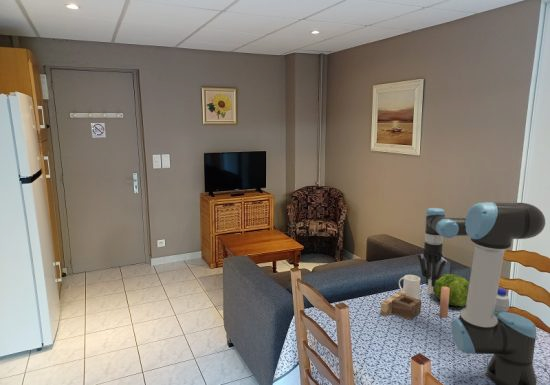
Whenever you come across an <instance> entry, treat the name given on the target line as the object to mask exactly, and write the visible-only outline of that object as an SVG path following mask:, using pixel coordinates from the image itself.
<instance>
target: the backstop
mask: <svg viewBox="0 0 550 385" xmlns="http://www.w3.org/2000/svg"><path fill="white" fill-rule="evenodd" d="M400 295H405V296H406V292H403V291H402V290H400V291H398V292H396V293H395V294H393V295H392V296H390V297H388V298H386V299H385V300H383V301H382V302H381V303H380V315H381V316H384V317H388V316H389V315H390V314H391V315H392V313H391V311H392V300H394V299H395V298H397V297H398V296H400Z"/></svg>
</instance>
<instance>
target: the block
mask: <svg viewBox="0 0 550 385" xmlns="http://www.w3.org/2000/svg"><path fill="white" fill-rule="evenodd" d="M421 310H422V300H421V299H419V300H418V299H415V298H412V297H409V296H405V295H400V296H398V297H397V298H395V299H394V300H392V311H391V315H392V314H393V315H395V316H397V317H398V316H399V317H401V318H405V319H407V320H409V321H412V320H413V319H415V318H416V317H417V316H419V315H420V314H421Z"/></svg>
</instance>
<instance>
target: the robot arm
mask: <svg viewBox="0 0 550 385" xmlns="http://www.w3.org/2000/svg"><path fill="white" fill-rule="evenodd" d="M545 227H546V217H545V215H544V213H543V212H542V211H541V210H540V208H538V207H537V206H535V205H533V204H531V203H527V202H496V201H495V202H492V201H487V202H478V203H475V204H474V205H472V206H471V207H469V210H468V211H467V213H466V217H446V211H445V210H444V209H443V208H439V207H428V209H427V210H426V215H425V231H424V241H425V242H424V245H423V249H424V250H423V251H422V253H421V254H418V255H417V258H418V260H419V265H420V270H421V276H422V277H424V278H425V285H426V286H427V289H426V290H427V292H426V293H427V294H430V295H431V294H432V293H433V287H434V286H435V285H436V280H438V279H440V278H441V275H443V272H444V269H445V266H446V264H447V263H448V261H449V260H448V259H445V258H444V257H443V241H444V238H445V239H451V238H452V239H453V238H454V237H458V236H459V237H463V236H464V237H465V236H466V237H469V238H470V242H471V244H473V245H474V251H473V256H472V262H471V270H470V277H469V281H468V282H469V289H468V296H467V303H466V305H465V307H464V308H462V309H461V310H460V312H459V317H454V318H453V319H452V320H451V322H450V328H451V329H450V330H451V336H452V339H453V341H454V343H455V345H456V347H457V349H458V350H459V351H460V352H461V353H463V354H472V355H477V354H478V355H483V354H485V355H486V354H487V355H492V356H491V359H490V360H489V362H488V364H487V366H486V375H487V378H488V379H489V380H490V381H491V382H492V383H494V384H495V385H537V376H536V373H535V369H534V364H533V362H534V355H535V346H536V339H537V326H536V324H535V323H534V322H533V321H531V320H530V319H528V318H527V317H525V316H522V315H520V314H517V313H513V312H509V311H508V312H500V313H499V314H498V315H497V318H496V317H495V316H494V310H495V304H496V298H497V292H498V289H499V285H500V280H501V273H502V268H503V261H504V258H505V257H504V255H505V252H506V251H507V250H509V249H511V247H512V241H513V240H527V239H532V238H534V237H537V236H538V235H540V234H541V233H542V232H543V230H544V229H545ZM425 260H426V261H425ZM439 262H440V265H439V268H438V263H439Z"/></svg>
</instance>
